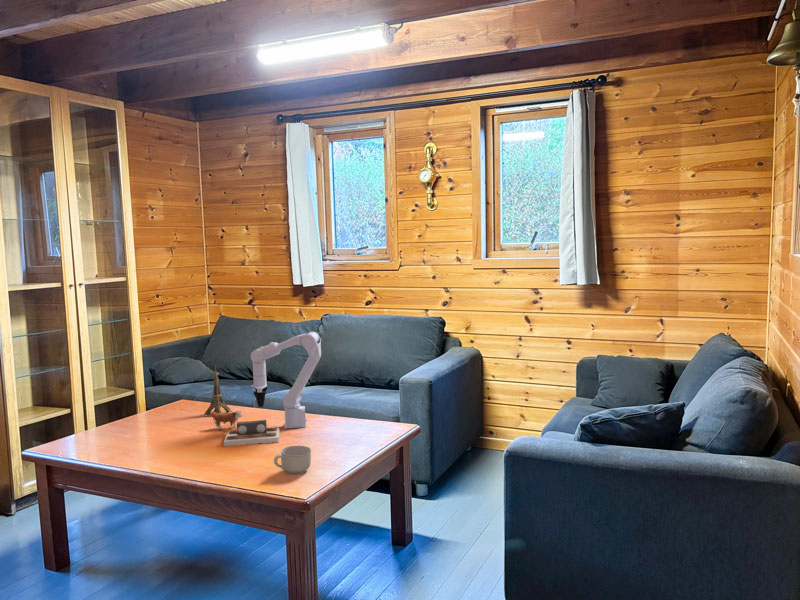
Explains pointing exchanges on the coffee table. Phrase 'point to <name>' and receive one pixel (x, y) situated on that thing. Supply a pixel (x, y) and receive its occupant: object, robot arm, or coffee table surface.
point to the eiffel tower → (217, 398)
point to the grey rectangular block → (251, 427)
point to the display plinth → (252, 437)
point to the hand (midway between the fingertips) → (261, 404)
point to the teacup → (294, 459)
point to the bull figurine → (226, 418)
